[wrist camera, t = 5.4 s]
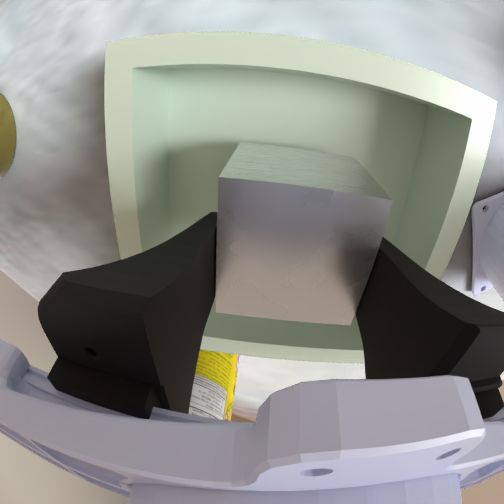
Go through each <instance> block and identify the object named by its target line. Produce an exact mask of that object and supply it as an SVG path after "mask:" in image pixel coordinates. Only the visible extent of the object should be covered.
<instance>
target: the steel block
mask: <svg viewBox="0 0 504 504" xmlns="http://www.w3.org/2000/svg"><path fill="white" fill-rule="evenodd" d="M392 203H393V200H392V199H391V197H390V196H389V195H388V194H387V193H386V192H385V190H384V189H383V188H382V187H381V186H380V185H379V184H378V182H377V181H376V180H375V179H374V178H373V177H372V176H371V175H370V174H369V173H368V172H367V170H366V169H365V168H364V167H363V166H362V165H361V164H360V163H359V162H358V161H357V160H356V159H355V158H354V157H348V156H343V155H337V154H331V153H325V152H318V151H312V150H305V149H298V148H290V147H282V146H273V145H264V144H254V143H243V142H240V143H239V145H238V147H237V148H236V150H235V151H234V153H233V155H232V156H231V158H230V159H229V161H228V163H227V164H226V166H225V168H224V169H223V171H222V173H221V174H220V176H219V184H218V211H217V246H216V312H217V313H225V314H233V315H241V316H249V317H258V318H268V319H277V320H288V321H298V322H310V323H323V324H337V325H351V322H352V320H353V317H354V315H355V312H356V310H357V307H358V305H359V302H360V300H361V297H362V295H363V292H364V289H365V287H366V284H367V281H368V278H369V276H370V273H371V270H372V267H373V264H374V261H375V259H376V256H377V253H378V250H379V247H380V243H381V240H382V237H383V234H384V231H385V227H386V224H387V221H388V217H389V214H390V211H391V207H392Z"/></svg>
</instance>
